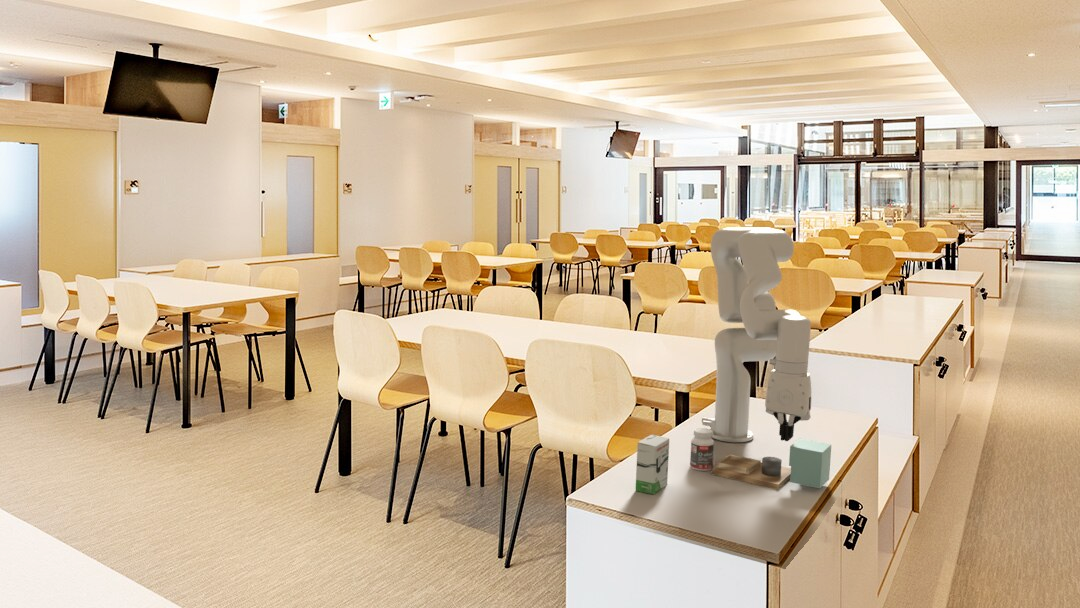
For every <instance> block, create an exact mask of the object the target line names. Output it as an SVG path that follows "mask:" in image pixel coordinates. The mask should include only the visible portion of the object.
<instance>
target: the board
mask: <svg viewBox="0 0 1080 608" xmlns="http://www.w3.org/2000/svg"><path fill="white" fill-rule="evenodd" d="M761 461H762V462H761ZM782 463H783V462H782V459H781V458H779V457H776V456H764V457H762V459H761V460H759V459H755V458H750V457H744V456H739V455H735V454H730V453H729V454H727V455H726V456H724V457H723V458H721V459H720V460H718V461H717V462H716V466H714V467H712V469H711V470H710V471H711V473H710V474H711V475H713V476H717V477H721V478H727V479H730V480H734V481H740V482H745V483H749V484H753V485H757V486H761V487H767V488H771V489H774V490H775V489H776V490H779V489H780V488H781V487H782V486H783V485H785V484H786V483H787V482H788V481H790V476H791V467H786V466H782Z"/></svg>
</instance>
